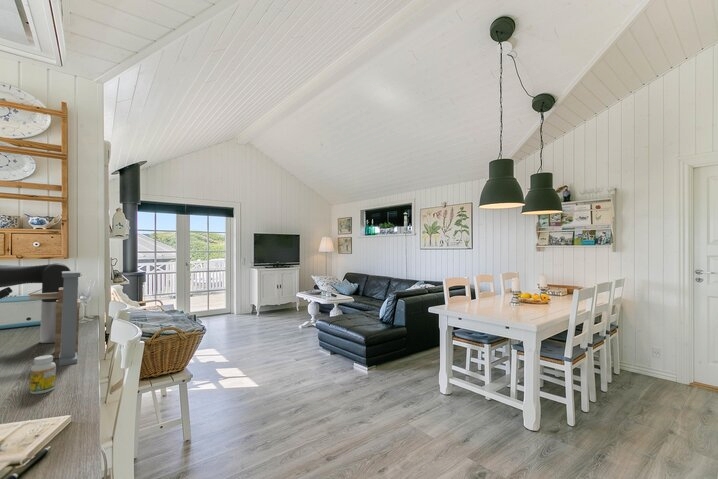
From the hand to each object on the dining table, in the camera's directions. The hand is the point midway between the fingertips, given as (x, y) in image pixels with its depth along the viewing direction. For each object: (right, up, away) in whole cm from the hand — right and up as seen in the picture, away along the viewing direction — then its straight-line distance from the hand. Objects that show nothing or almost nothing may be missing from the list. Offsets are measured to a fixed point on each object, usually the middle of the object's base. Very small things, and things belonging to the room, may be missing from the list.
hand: (9, 290), depth 121 cm
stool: (+11, -26, +10) cm, 30 cm away
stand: (+19, -26, +2) cm, 32 cm away
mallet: (+9, -6, +8) cm, 13 cm away
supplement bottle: (+33, -26, -23) cm, 48 cm away
